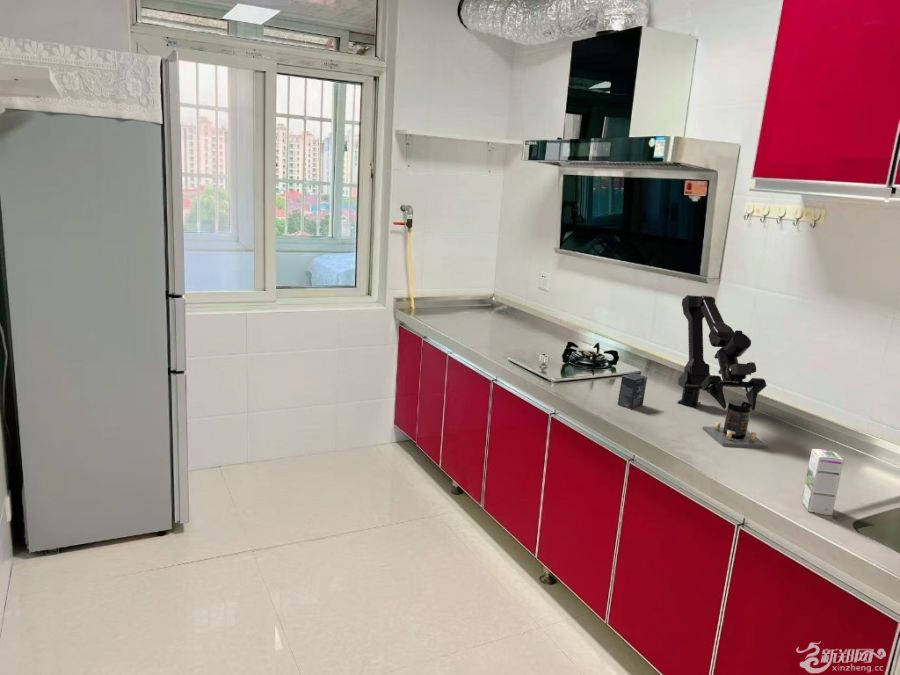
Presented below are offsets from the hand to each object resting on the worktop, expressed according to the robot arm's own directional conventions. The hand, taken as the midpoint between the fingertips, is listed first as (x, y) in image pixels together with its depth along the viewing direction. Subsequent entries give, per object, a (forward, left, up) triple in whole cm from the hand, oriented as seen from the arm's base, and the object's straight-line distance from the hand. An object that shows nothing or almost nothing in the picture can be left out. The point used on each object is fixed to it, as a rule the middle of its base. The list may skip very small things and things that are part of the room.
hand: (739, 409), depth 212 cm
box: (-5, -36, -10) cm, 38 cm away
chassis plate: (0, 0, -10) cm, 10 cm away
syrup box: (+36, +29, -10) cm, 47 cm away
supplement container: (0, 0, -9) cm, 9 cm away
